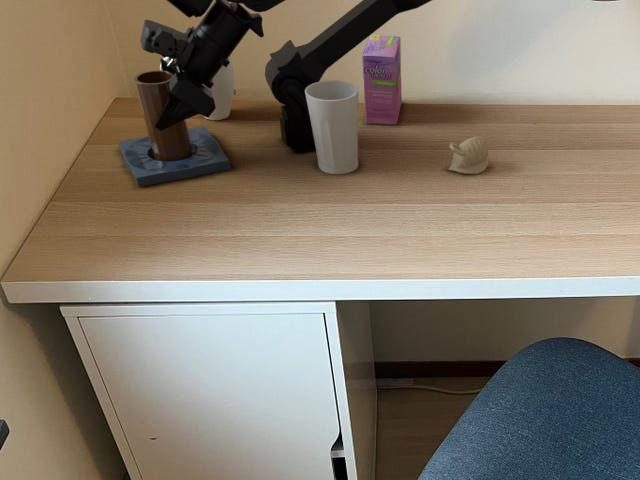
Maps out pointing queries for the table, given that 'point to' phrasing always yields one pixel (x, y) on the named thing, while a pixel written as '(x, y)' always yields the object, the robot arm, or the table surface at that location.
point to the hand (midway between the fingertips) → (155, 120)
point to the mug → (221, 91)
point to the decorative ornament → (470, 156)
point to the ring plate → (159, 171)
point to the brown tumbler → (152, 99)
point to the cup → (334, 124)
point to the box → (382, 79)
